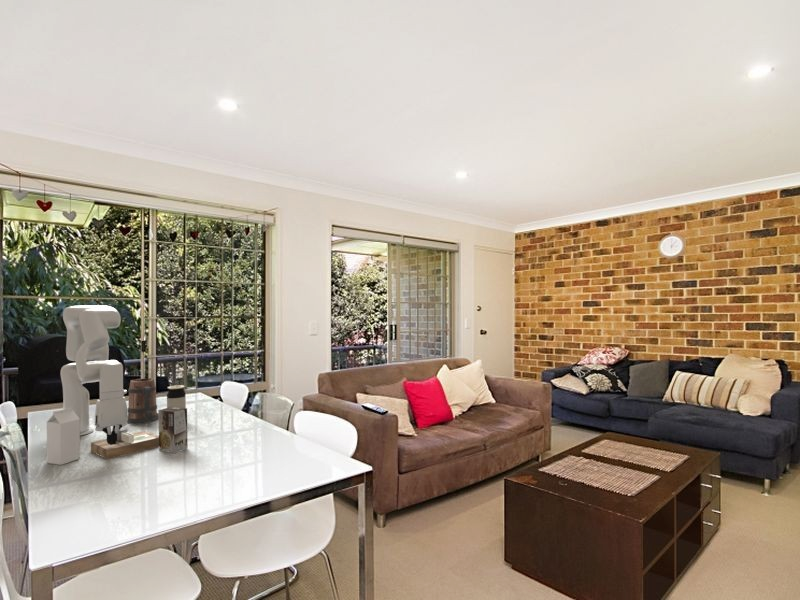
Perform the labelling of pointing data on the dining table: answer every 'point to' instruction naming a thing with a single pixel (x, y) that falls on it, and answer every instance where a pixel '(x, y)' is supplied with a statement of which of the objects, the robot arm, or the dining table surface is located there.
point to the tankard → (142, 401)
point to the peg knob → (125, 436)
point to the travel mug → (176, 396)
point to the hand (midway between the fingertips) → (112, 443)
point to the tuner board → (126, 445)
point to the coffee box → (172, 429)
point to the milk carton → (63, 437)
